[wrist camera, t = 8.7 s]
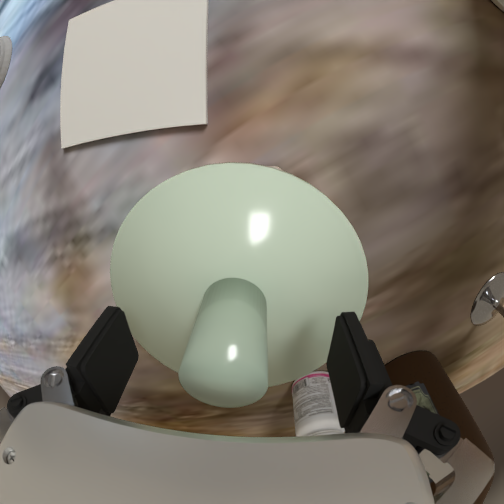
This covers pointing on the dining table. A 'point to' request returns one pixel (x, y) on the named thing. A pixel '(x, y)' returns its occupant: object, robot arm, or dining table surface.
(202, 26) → the mat
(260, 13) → the dining table surface
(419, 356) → the olive oil
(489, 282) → the wine glass
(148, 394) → the dining table surface
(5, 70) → the glass holder
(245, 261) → the lid
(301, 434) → the pill bottle
